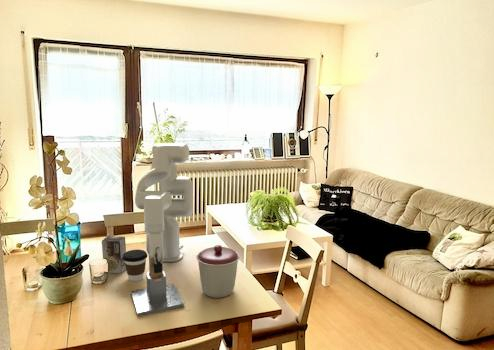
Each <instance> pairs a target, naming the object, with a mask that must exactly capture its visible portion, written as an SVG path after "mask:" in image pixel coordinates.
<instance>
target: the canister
mask: <svg viewBox="0 0 494 350" xmlns="http://www.w3.org/2000/svg"><path fill="white" fill-rule="evenodd" d="M240 256H241V255H240V254H239V252H237V251H236V250H234V249H233V248H229V247H225V246H222V245H219V244H217V245H215V246H213V247H209V248H205V249H203V250H201V251H199V252H197V254H196V256H195V258H196V260H197V262H198V269H199V270H198V271H199V278H200V283H201V284H200V285H201V289H202V291H203V293H204V294H205V295H206V296H208V297H210V298H214V299H215V298H216V299H218V298H220V299H221V298H226V297H228V296H230V295H232V293H233V292H234V289H235V285H236V277H237V272H238V271H237V269H238V265H239V264H238V261H239V260H240Z"/></svg>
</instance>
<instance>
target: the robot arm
mask: <svg viewBox="0 0 494 350" xmlns="http://www.w3.org/2000/svg"><path fill="white" fill-rule="evenodd" d="M151 151H152V159H151V160H152V161H151V166H150V167H151V168H150V170H149V171H148V172H146V174H144V175H143V176H142V177H141V178H140V180H139V181H138V184H137V186H136V190H135V196H134V198H135V199H134V203H135V206H136V207H137V209H139V210H143V218H144V220H143V221H144V232H145V233H146V236H145V237H146V245H145V246H146V249H145V250H146V253H147V256H148V258H149V257H150V258H152V257H154V273H161V272H162V263H174V262H178V261H181V260H182V258H183V257H184V254H183V253H182V252H181V250H182V249H183V248H184V244H181V243H180V224H179V222H178V220H177V219H176V218H188V217H191V216H192V215H193V211H194V190H193V189H194V188H193V187H194V186H193V181H192V179H191V178H190V177H189V176H178V166H177V164H183V163H186V162H187V160H188V159H189V156H190V149H189V145H188V144H187V143H182V142H181V143H179V142H174V143H172V142H170V143H169V142H161V143H155V144H153V145H152V148H151ZM158 183H160V184H159V185H160V186H159V189H160V190H147V189H148V188H150V187H151V186H153V185H156V184H158ZM175 196H176V197H175ZM180 196H181V197H180ZM155 255H156V256H155ZM161 256H162V258H161ZM156 258H157V259H156Z"/></svg>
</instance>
